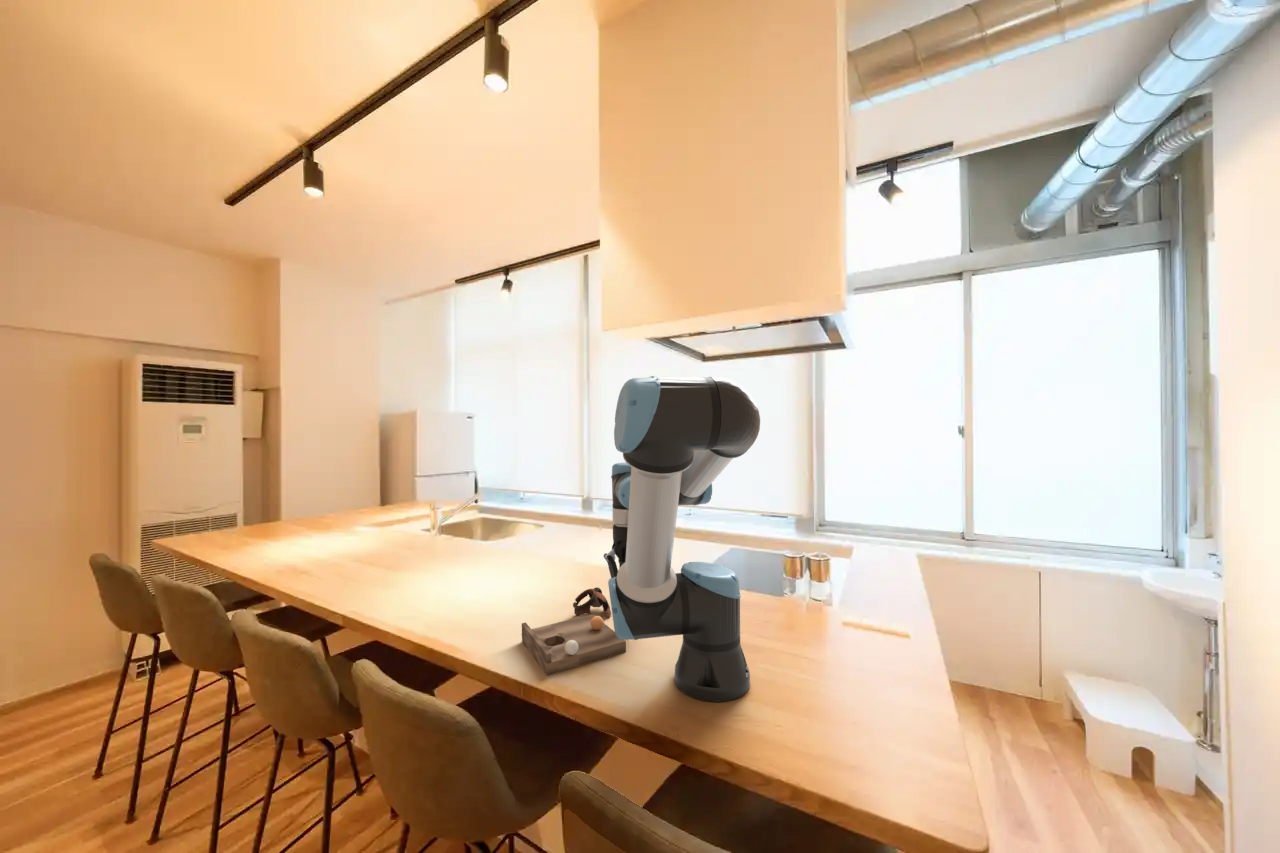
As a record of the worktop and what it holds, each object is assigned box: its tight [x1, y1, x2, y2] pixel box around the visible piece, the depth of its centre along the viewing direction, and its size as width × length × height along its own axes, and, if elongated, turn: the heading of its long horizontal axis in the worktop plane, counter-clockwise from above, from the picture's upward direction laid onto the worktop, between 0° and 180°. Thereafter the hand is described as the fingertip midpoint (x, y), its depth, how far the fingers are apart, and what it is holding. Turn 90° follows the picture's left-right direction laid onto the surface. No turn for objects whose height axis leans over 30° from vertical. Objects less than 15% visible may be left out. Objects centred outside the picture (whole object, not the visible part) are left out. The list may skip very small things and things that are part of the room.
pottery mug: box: [572, 586, 612, 619], centre depth 129 cm, size 12×10×8 cm
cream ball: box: [565, 640, 578, 655], centre depth 102 cm, size 3×3×3 cm
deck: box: [521, 613, 627, 677], centre depth 111 cm, size 18×19×4 cm
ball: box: [591, 615, 605, 630], centre depth 114 cm, size 3×3×3 cm
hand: (629, 615), depth 118 cm, fingers closed
